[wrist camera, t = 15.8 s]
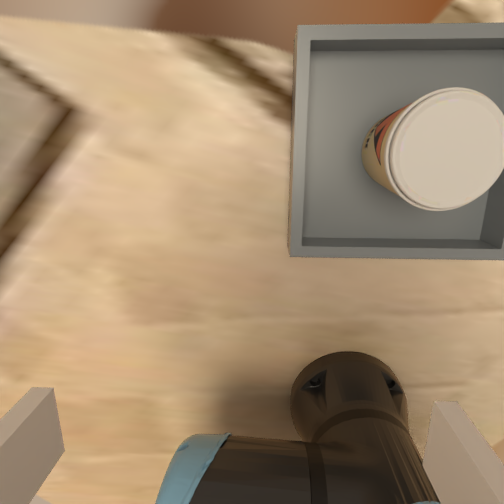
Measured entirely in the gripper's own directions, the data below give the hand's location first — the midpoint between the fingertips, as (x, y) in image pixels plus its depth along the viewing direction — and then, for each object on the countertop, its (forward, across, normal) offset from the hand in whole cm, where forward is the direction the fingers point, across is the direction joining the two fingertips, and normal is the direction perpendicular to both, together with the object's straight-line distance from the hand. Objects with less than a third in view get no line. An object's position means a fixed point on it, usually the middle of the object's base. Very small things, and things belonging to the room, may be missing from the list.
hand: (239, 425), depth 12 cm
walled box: (+32, -15, -9) cm, 36 cm away
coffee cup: (+31, -15, -9) cm, 35 cm away
